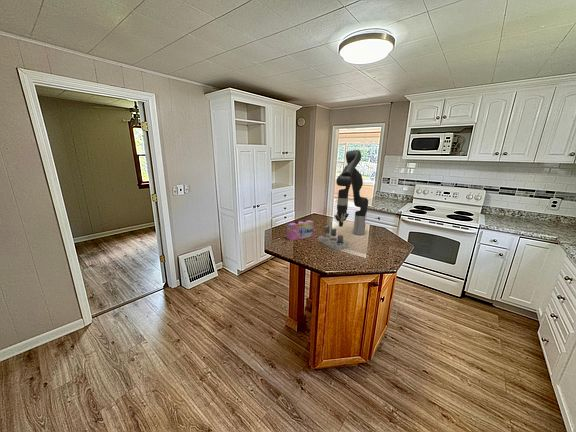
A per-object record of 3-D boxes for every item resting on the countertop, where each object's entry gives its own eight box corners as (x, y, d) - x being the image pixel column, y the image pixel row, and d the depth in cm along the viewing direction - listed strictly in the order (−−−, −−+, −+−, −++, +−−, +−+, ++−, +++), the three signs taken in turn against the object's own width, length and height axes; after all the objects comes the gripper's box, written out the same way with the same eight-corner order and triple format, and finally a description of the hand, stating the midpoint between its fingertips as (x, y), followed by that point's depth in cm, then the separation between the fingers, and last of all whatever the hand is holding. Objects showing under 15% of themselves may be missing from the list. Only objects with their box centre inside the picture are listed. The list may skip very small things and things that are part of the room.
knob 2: (340, 240, 180) (340, 234, 178) (343, 242, 176) (344, 236, 175) (336, 241, 178) (336, 235, 176) (339, 243, 174) (340, 236, 173)
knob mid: (333, 234, 185) (334, 227, 184) (337, 235, 182) (337, 229, 181) (329, 234, 183) (330, 228, 182) (333, 236, 180) (333, 230, 179)
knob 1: (327, 231, 192) (327, 225, 191) (330, 232, 189) (330, 226, 187) (323, 231, 190) (323, 225, 189) (326, 233, 187) (326, 227, 185)
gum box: (309, 233, 208) (310, 219, 205) (314, 236, 201) (315, 221, 198) (286, 237, 197) (286, 222, 194) (290, 240, 191) (291, 224, 187)
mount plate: (329, 238, 197) (329, 233, 196) (348, 247, 178) (348, 242, 177) (318, 240, 191) (318, 236, 190) (336, 250, 173) (336, 245, 172)
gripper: (345, 202, 176) (343, 223, 181) (332, 203, 170) (330, 226, 174) (352, 203, 170) (350, 226, 175) (339, 205, 164) (337, 229, 168)
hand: (340, 226), depth 175 cm, fingers closed
